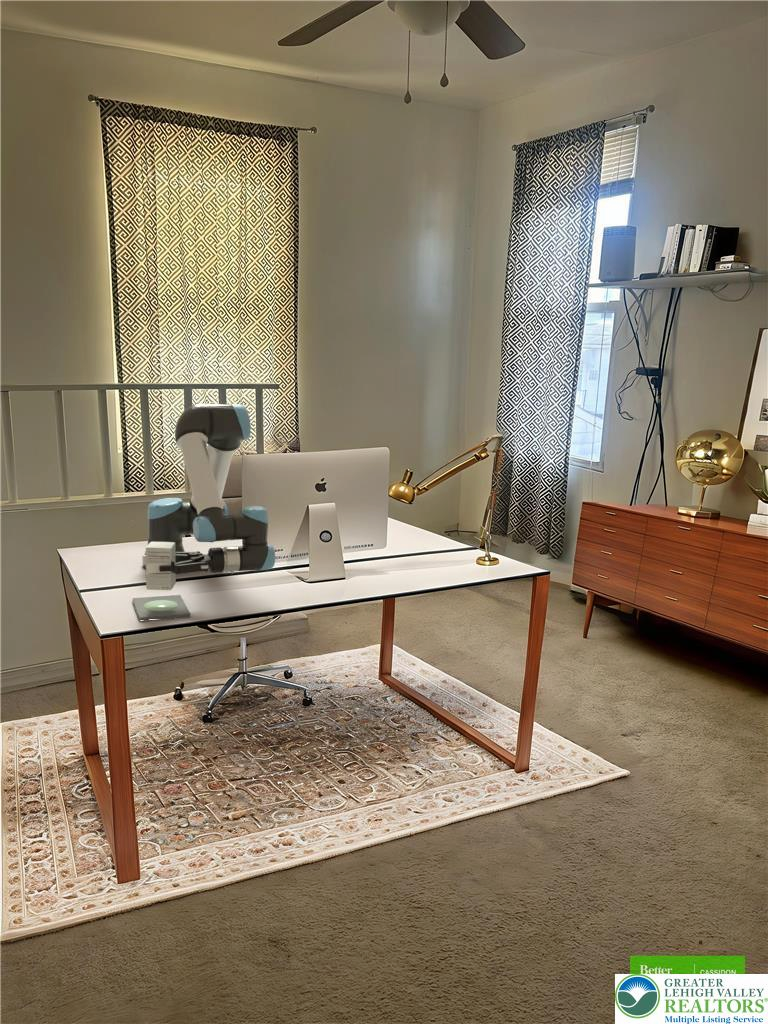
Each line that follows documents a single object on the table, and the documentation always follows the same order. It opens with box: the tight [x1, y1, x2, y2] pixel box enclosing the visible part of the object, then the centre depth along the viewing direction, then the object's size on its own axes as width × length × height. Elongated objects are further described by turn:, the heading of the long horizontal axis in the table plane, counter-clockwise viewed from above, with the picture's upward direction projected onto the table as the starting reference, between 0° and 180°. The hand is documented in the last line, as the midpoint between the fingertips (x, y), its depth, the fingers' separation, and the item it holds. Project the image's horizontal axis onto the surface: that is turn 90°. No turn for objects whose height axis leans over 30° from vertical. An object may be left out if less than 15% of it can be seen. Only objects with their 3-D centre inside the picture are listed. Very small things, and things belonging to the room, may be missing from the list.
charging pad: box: [132, 594, 191, 621], centre depth 233 cm, size 18×14×1 cm
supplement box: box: [145, 542, 177, 591], centre depth 230 cm, size 7×7×13 cm
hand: (144, 564), depth 228 cm, fingers closed on supplement box, 9 cm apart
